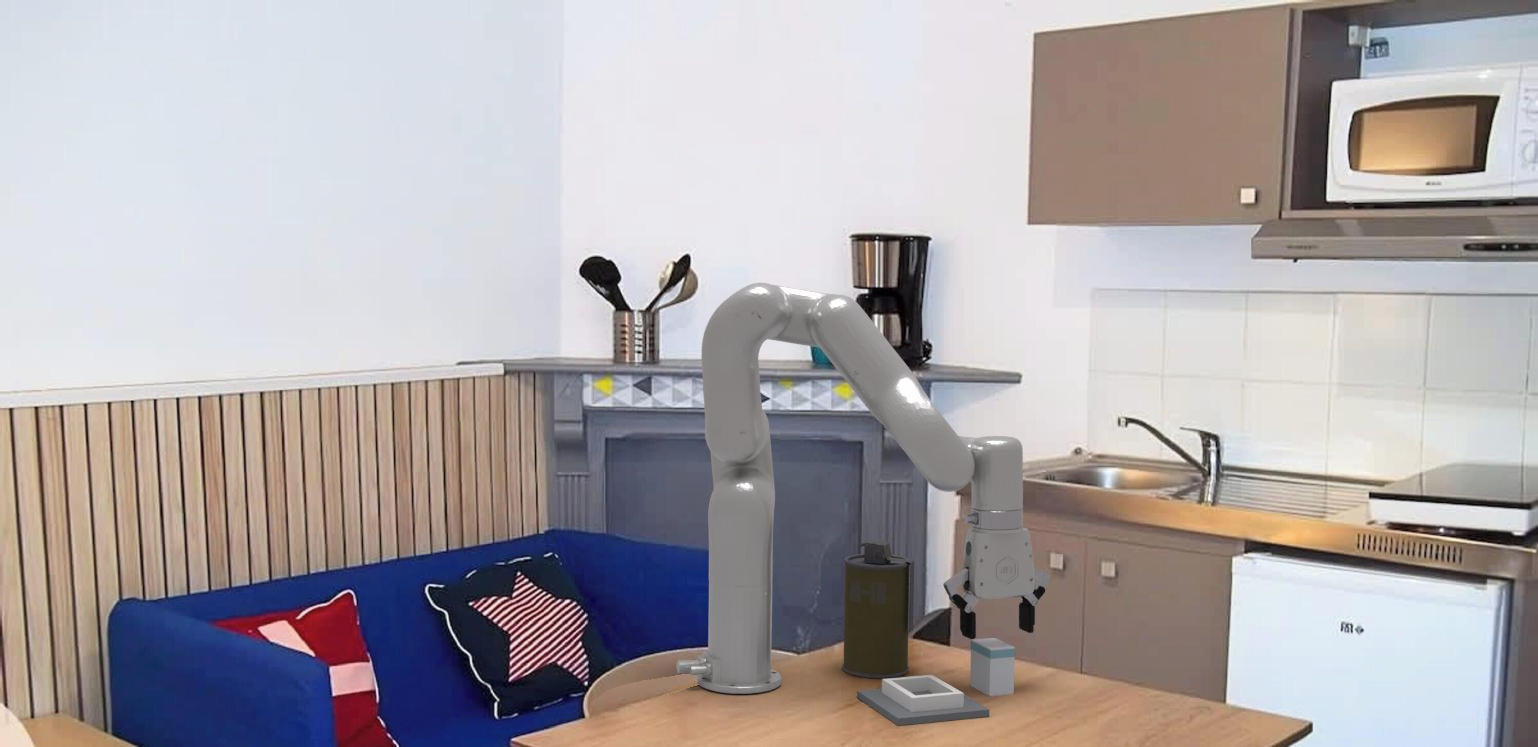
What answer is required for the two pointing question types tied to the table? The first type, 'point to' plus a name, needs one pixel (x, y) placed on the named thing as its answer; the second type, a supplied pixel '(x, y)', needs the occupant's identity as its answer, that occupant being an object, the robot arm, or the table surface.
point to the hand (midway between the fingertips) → (997, 633)
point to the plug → (992, 666)
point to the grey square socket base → (921, 701)
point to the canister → (877, 612)
